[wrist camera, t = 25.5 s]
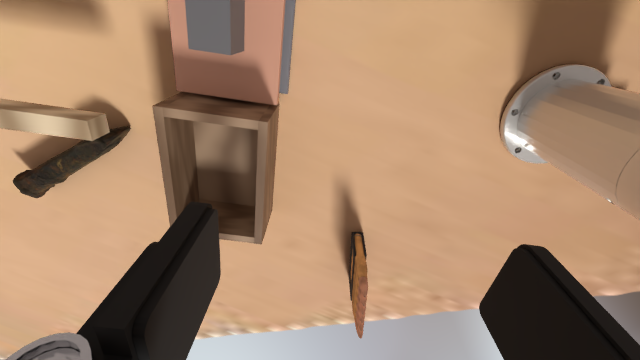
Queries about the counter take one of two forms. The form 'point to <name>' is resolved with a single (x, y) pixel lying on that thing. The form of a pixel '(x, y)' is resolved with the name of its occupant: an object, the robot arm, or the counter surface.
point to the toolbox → (219, 160)
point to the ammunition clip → (358, 280)
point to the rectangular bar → (52, 120)
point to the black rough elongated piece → (67, 163)
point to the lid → (228, 47)
